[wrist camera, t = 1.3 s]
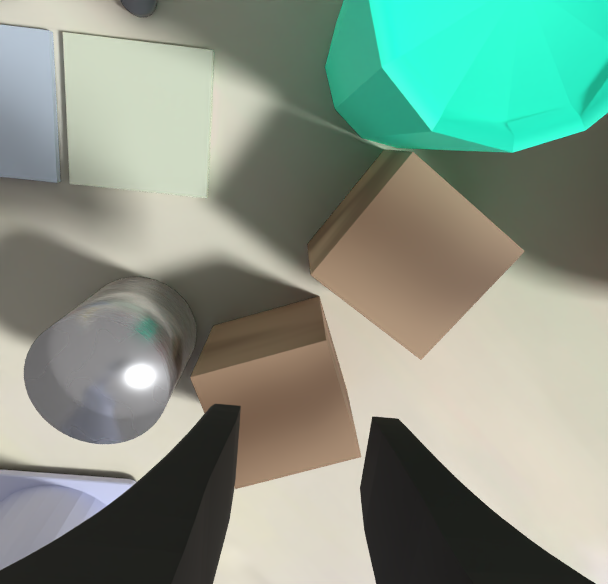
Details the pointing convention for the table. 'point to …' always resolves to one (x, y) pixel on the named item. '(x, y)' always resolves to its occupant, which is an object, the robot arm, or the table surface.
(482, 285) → the walnut block
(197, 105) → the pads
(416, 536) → the robot arm
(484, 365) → the table surface
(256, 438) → the walnut block
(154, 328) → the grey tin
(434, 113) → the candle
